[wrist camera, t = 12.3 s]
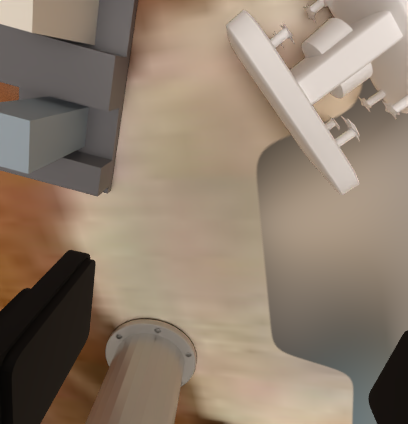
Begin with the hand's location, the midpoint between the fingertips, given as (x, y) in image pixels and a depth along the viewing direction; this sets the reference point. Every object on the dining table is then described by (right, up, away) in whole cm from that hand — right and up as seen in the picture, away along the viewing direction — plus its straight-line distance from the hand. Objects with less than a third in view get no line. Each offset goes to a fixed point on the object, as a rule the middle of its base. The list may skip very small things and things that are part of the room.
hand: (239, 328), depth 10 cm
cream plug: (-13, +21, +19) cm, 31 cm away
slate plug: (-15, +13, +23) cm, 30 cm away
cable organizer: (+9, +17, +20) cm, 28 cm away
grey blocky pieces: (-14, +17, +22) cm, 31 cm away
